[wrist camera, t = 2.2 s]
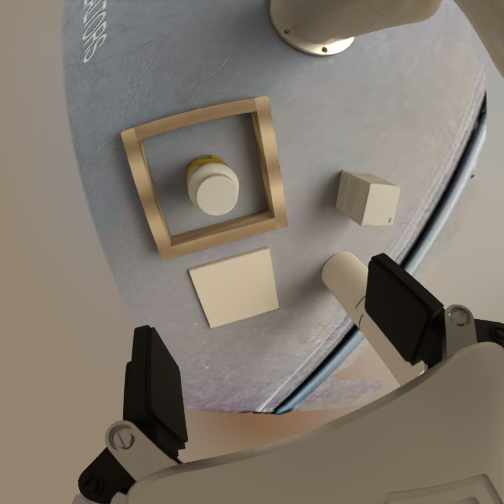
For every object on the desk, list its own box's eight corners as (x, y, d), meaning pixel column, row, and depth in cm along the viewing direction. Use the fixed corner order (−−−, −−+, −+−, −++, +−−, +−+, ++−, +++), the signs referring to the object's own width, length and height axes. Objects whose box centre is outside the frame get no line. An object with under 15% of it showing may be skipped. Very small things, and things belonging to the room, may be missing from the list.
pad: (188, 268, 39) (189, 271, 38) (268, 246, 40) (269, 248, 40) (210, 325, 45) (211, 328, 45) (277, 305, 46) (278, 308, 46)
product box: (372, 173, 39) (402, 187, 32) (365, 209, 42) (392, 227, 35) (340, 169, 37) (370, 182, 31) (334, 208, 40) (360, 227, 34)
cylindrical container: (317, 288, 47) (396, 401, 26) (326, 252, 44) (424, 365, 22) (350, 284, 49) (432, 382, 27) (360, 250, 45) (458, 346, 24)
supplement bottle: (179, 183, 33) (178, 208, 25) (200, 146, 31) (206, 158, 23) (215, 201, 35) (226, 231, 27) (236, 166, 34) (255, 185, 25)
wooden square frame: (125, 131, 28) (120, 132, 25) (260, 97, 30) (267, 96, 27) (163, 250, 37) (162, 261, 34) (280, 217, 39) (287, 225, 36)
